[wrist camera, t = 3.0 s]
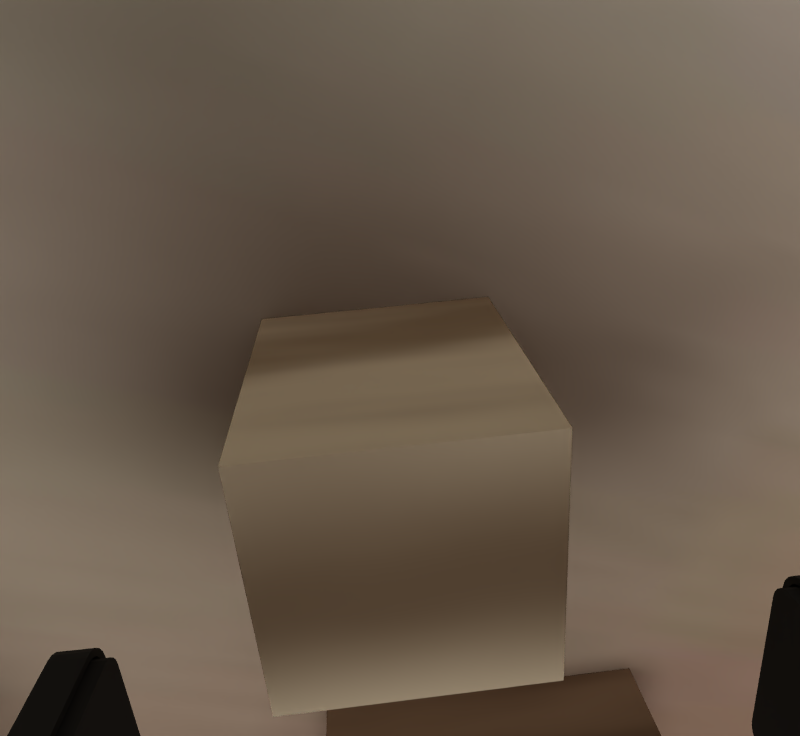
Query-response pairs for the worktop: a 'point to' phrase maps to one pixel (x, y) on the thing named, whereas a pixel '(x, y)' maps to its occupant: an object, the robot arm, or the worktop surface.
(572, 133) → the worktop surface
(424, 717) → the tower bottom
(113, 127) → the worktop surface
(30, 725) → the robot arm
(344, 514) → the maple cube
